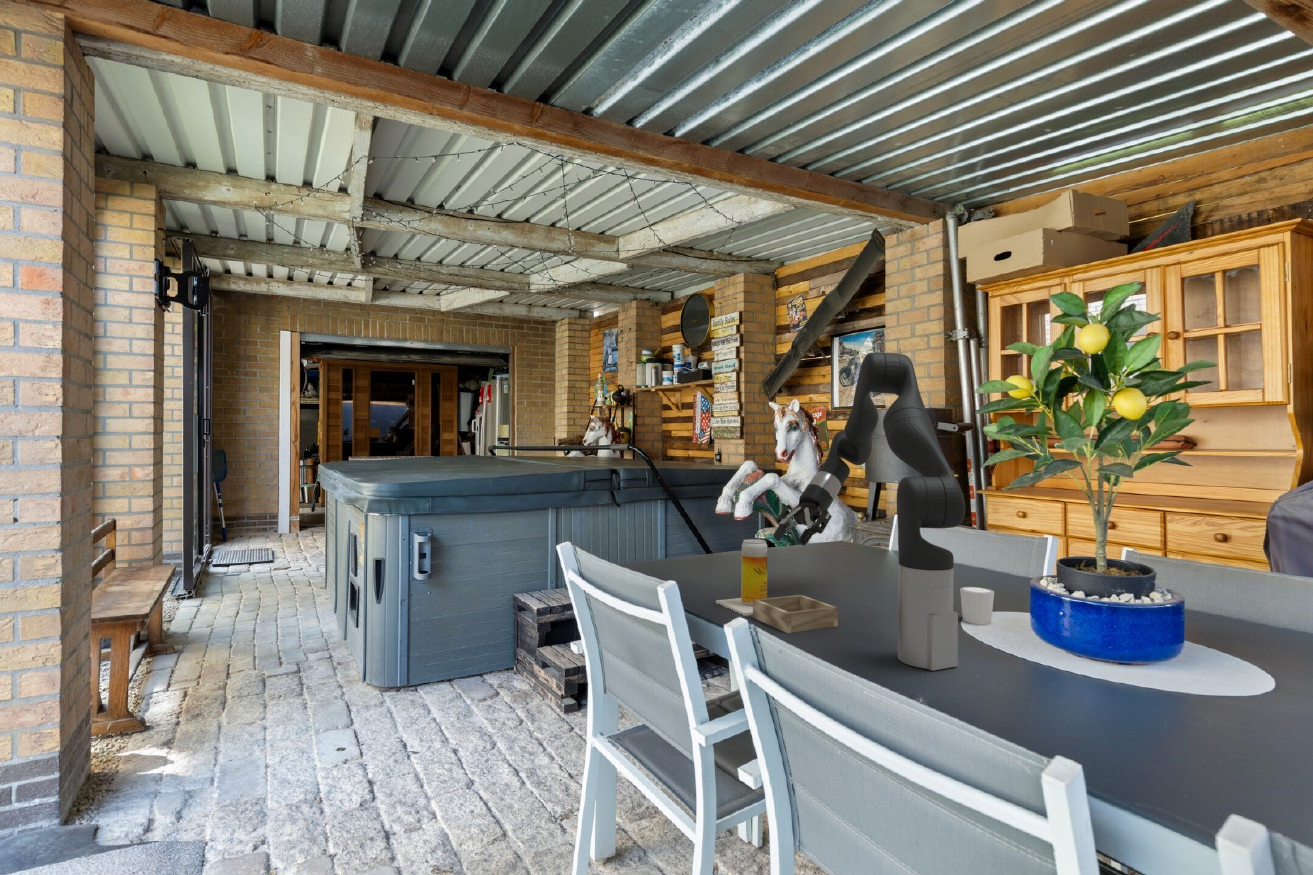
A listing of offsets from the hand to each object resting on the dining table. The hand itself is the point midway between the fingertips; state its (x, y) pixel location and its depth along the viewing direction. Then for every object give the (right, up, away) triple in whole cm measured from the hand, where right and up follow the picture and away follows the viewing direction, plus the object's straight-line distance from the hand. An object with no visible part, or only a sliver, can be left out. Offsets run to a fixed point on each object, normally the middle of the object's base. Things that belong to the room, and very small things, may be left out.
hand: (788, 540), depth 167 cm
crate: (-3, -15, -20) cm, 25 cm away
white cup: (+38, -15, -18) cm, 45 cm away
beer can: (-9, -14, -7) cm, 18 cm away
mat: (-10, -15, -7) cm, 19 cm away
